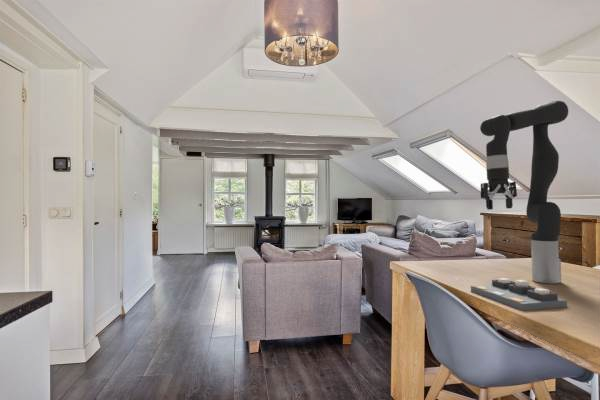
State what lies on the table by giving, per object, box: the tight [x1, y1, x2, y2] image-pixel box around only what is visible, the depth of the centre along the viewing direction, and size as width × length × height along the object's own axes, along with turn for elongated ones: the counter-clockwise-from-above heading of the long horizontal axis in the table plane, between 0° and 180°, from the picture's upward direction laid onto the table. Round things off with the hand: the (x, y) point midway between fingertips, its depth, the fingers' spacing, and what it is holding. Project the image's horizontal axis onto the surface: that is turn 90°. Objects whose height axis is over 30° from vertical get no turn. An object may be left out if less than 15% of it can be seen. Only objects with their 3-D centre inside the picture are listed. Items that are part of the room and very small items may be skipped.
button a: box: [497, 277, 512, 283], centre depth 127 cm, size 4×4×2 cm
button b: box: [514, 279, 530, 288], centre depth 119 cm, size 4×4×2 cm
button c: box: [535, 287, 551, 294], centre depth 111 cm, size 4×4×2 cm
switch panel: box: [470, 279, 568, 311], centre depth 118 cm, size 16×24×4 cm, turn 10°
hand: (499, 208), depth 133 cm, fingers open, 8 cm apart
